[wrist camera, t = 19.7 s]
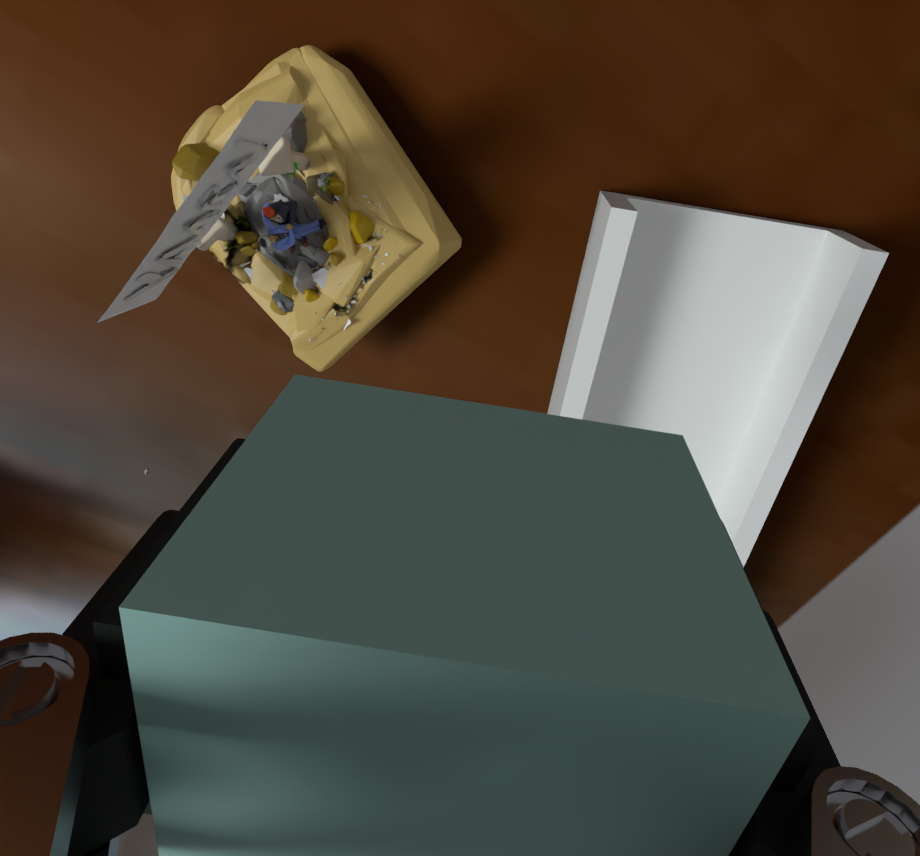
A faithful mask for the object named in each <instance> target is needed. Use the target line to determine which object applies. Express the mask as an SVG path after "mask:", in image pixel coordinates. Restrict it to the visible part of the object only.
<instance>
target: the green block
mask: <svg viewBox="0 0 920 856" xmlns="http://www.w3.org/2000/svg"><path fill="white" fill-rule="evenodd" d="M119 612H120V619H121V625H122V631H123V637H124V643H125V649H126V656H127V662H128V668H129V674H130V680H131V686H132V693H133V699H134V705H135V711H136V717H137V723H138V730H139V736H140V742H141V748H142V754H143V760H144V767H145V773H146V779H147V785H148V791H149V798H150V804H151V810H152V816H153V822H154V828H155V835H156V841H157V847H158V853H159V856H729V854H730V852H731V851H732V849H733V847H734V846H735V844H736V842H737V840H738V839H739V837H740V835H741V834H742V832H743V830H744V829H745V827H746V825H747V824H748V822H749V820H750V819H751V817H752V815H753V814H754V812H755V810H756V809H757V807H758V805H759V804H760V802H761V800H762V799H763V797H764V795H765V794H766V792H767V790H768V789H769V787H770V785H771V784H772V782H773V780H774V778H775V777H776V775H777V773H778V772H779V770H780V768H781V767H782V765H783V763H784V762H785V760H786V758H787V757H788V755H789V753H790V752H791V750H792V748H793V747H794V745H795V743H796V742H797V740H798V738H799V737H800V735H801V733H802V732H803V730H804V728H805V727H806V725H807V723H808V722H809V720H810V716H809V714H808V711H807V709H806V707H805V705H804V703H803V700H802V698H801V696H800V694H799V691H798V689H797V687H796V685H795V683H794V680H793V678H792V676H791V674H790V672H789V669H788V667H787V665H786V663H785V661H784V658H783V656H782V654H781V652H780V649H779V647H778V645H777V643H776V641H775V638H774V636H773V634H772V632H771V630H770V627H769V625H768V623H767V621H766V618H765V616H764V614H763V612H762V610H761V607H760V605H759V603H758V601H757V599H756V596H755V594H754V592H753V590H752V587H751V585H750V583H749V581H748V579H747V576H746V574H745V572H744V570H743V568H742V565H741V563H740V561H739V559H738V556H737V554H736V552H735V550H734V548H733V545H732V543H731V541H730V539H729V537H728V534H727V532H726V530H725V528H724V526H723V523H722V521H721V519H720V517H719V514H718V512H717V510H716V508H715V506H714V503H713V501H712V499H711V497H710V495H709V492H708V490H707V488H706V486H705V483H704V481H703V479H702V477H701V475H700V472H699V470H698V468H697V466H696V464H695V461H694V459H693V457H692V455H691V452H690V450H689V448H688V446H687V444H686V441H685V439H684V437H683V435H678V434H672V433H665V432H659V431H653V430H646V429H640V428H633V427H627V426H621V425H614V424H608V423H601V422H595V421H589V420H582V419H576V418H570V417H563V416H557V415H550V414H544V413H538V412H531V411H525V410H519V409H512V408H506V407H499V406H493V405H487V404H480V403H474V402H468V401H461V400H455V399H448V398H442V397H436V396H429V395H423V394H416V393H410V392H404V391H397V390H391V389H385V388H378V387H372V386H365V385H359V384H353V383H346V382H340V381H334V380H327V379H321V378H314V377H308V376H302V375H294V377H293V378H292V379H291V381H290V382H289V383H288V385H287V386H286V387H285V389H284V390H283V391H282V393H281V394H280V395H279V396H278V398H277V399H276V400H275V402H274V403H273V404H272V406H271V407H270V408H269V410H268V411H267V412H266V414H265V415H264V416H263V418H262V419H261V420H260V422H259V423H258V424H257V425H256V427H255V428H254V429H253V431H252V432H251V433H250V435H249V436H248V437H247V439H246V440H245V441H244V443H243V444H242V445H241V447H240V448H239V449H238V451H237V452H236V453H235V455H234V456H233V457H232V458H231V460H230V461H229V462H228V464H227V465H226V466H225V468H224V469H223V470H222V472H221V473H220V474H219V476H218V477H217V478H216V480H215V481H214V482H213V484H212V485H211V486H210V487H209V489H208V490H207V491H206V493H205V494H204V495H203V497H202V498H201V499H200V501H199V502H198V503H197V505H196V506H195V507H194V509H193V510H192V511H191V513H190V514H189V515H188V516H187V518H186V519H185V520H184V522H183V523H182V524H181V526H180V527H179V528H178V530H177V531H176V532H175V534H174V535H173V536H172V538H171V539H170V540H169V542H168V543H167V544H166V546H165V547H164V548H163V549H162V551H161V552H160V553H159V555H158V556H157V557H156V559H155V560H154V561H153V563H152V564H151V565H150V567H149V568H148V569H147V571H146V572H145V573H144V575H143V576H142V577H141V578H140V580H139V581H138V582H137V584H136V585H135V586H134V588H133V589H132V590H131V592H130V593H129V594H128V596H127V597H126V598H125V600H124V601H123V602H122V604H121V605H120V606H119Z"/></svg>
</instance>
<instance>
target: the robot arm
mask: <svg viewBox="0 0 920 856" xmlns="http://www.w3.org/2000/svg"><path fill="white" fill-rule="evenodd" d="M245 440H246V439H241V438H239V439H236V440H235V441H234V442H233V443H232V444H231V446H230V447H229V448H228V449H227V451H226V452H225V453H224V455H223V456H222V457H221V458H220V460H219V461H218V462H217V464H216V465H215V466H214V467H213V469H212V470H211V471H210V472H209V474H208V475H207V476H206V478H205V479H204V480H203V481H202V483H201V484H200V485H199V486H198V488H197V489H196V490H195V492H194V493H193V494H192V495H191V497H190V498H189V499H188V500H187V502H186V503H185V504H184V506H183V507H182V508H181V509H180V511H175V510H168V511H165V512H164V513H162V514H161V515H160V516H159V517H158V518H157V519H156V521H155V522H154V523H153V524H152V526H151V527H150V528H149V529H148V530H147V532H146V533H145V534H144V535H143V537H142V538H141V539H140V540H139V541H138V543H137V544H136V545H135V546H134V548H133V549H132V550H131V551H130V552H129V554H128V555H127V556H126V557H125V558H124V560H123V561H122V562H121V563H120V565H119V566H118V567H117V568H116V569H115V571H114V572H113V573H112V574H111V576H110V577H109V578H108V579H107V580H106V582H105V583H104V584H103V585H102V587H101V588H100V589H99V590H98V591H97V593H96V594H95V595H94V596H93V597H92V599H91V600H90V601H89V602H88V604H87V605H86V606H85V607H84V608H83V610H82V611H81V612H80V613H79V615H78V616H77V617H76V618H75V619H74V621H73V622H72V623H71V624H70V626H69V627H68V628H67V629H66V630H65V632H64V633H63V634H62V635H60V634H56V633H28V634H23V635H18V636H13V637H9V638H6V639H4V640H1V641H0V856H159V853H158V847H157V841H156V835H155V828H154V822H153V816H152V810H151V804H150V798H149V791H148V785H147V779H146V773H145V767H144V760H143V754H142V748H141V742H140V736H139V730H138V723H137V717H136V711H135V705H134V699H133V693H132V686H131V680H130V674H129V668H128V662H127V656H126V649H125V643H124V637H123V631H122V625H121V619H120V612H119V606H120V605H121V604H122V602H123V601H124V600H125V598H126V597H127V596H128V594H129V593H130V592H131V590H132V589H133V588H134V586H135V585H136V584H137V582H138V581H139V580H140V578H141V577H142V576H143V575H144V573H145V572H146V571H147V569H148V568H149V567H150V565H151V564H152V563H153V561H154V560H155V559H156V557H157V556H158V555H159V553H160V552H161V551H162V549H163V548H164V547H165V546H166V544H167V543H168V542H169V540H170V539H171V538H172V536H173V535H174V534H175V532H176V531H177V530H178V528H179V527H180V526H181V524H182V523H183V522H184V520H185V519H186V518H187V516H188V515H189V514H190V513H191V511H192V510H193V509H194V507H195V506H196V505H197V503H198V502H199V501H200V499H201V498H202V497H203V495H204V494H205V493H206V491H207V490H208V489H209V487H210V486H211V485H212V484H213V482H214V481H215V480H216V478H217V477H218V476H219V474H220V473H221V472H222V470H223V469H224V468H225V466H226V465H227V464H228V462H229V461H230V460H231V458H232V457H233V456H234V455H235V453H236V452H237V451H238V449H239V448H240V447H241V445H242V444H243V443H244V441H245ZM721 521H722V520H721ZM722 523H723V522H722ZM723 526H724V528H725V525H724V523H723ZM725 530H726V528H725ZM726 532H727V530H726ZM727 534H728V532H727ZM728 537H729V534H728ZM729 539H730V537H729ZM730 541H731V539H730ZM731 543H732V541H731ZM732 545H733V543H732ZM733 548H734V545H733ZM734 550H735V548H734ZM735 552H736V550H735ZM736 554H737V552H736ZM737 556H738V554H737ZM738 559H739V556H738ZM739 561H740V559H739ZM740 563H741V561H740ZM741 565H742V563H741ZM742 568H743V565H742ZM743 570H744V568H743ZM744 572H745V570H744ZM745 574H746V572H745ZM746 576H747V574H746ZM747 579H748V576H747ZM748 581H749V579H748ZM749 583H750V581H749ZM750 585H751V583H750ZM751 587H752V585H751ZM752 590H753V588H752ZM753 592H754V590H753ZM754 594H755V592H754ZM755 596H756V594H755ZM756 599H757V596H756ZM757 601H758V599H757ZM758 603H759V601H758ZM759 605H760V603H759ZM760 607H761V605H760ZM761 610H762V612H763V614H764V616H765V618H766V621H767V623H768V625H769V627H770V630H771V632H772V634H773V636H774V638H775V641H776V643H777V645H778V647H779V649H780V652H781V654H782V656H783V658H784V661H785V663H786V665H787V667H788V669H789V672H790V674H791V676H792V678H793V680H794V683H795V685H796V687H797V689H798V691H799V694H800V696H801V698H802V700H803V703H804V705H805V707H806V709H807V711H808V714H809V716H810V720H809V722H808V723H807V725H806V727H805V728H804V730H803V732H802V733H801V735H800V737H799V738H798V740H797V742H796V743H795V745H794V747H793V748H792V750H791V752H790V753H789V755H788V757H787V758H786V760H785V762H784V763H783V765H782V767H781V768H780V770H779V772H778V773H777V775H776V777H775V778H774V780H773V782H772V784H771V785H770V787H769V789H768V790H767V792H766V794H765V795H764V797H763V799H762V800H761V802H760V804H759V805H758V807H757V809H756V810H755V812H754V814H753V815H752V817H751V819H750V820H749V822H748V824H747V825H746V827H745V829H744V830H743V832H742V834H741V835H740V837H739V839H738V840H737V842H736V844H735V846H734V847H733V849H732V851H731V852H730V854H729V856H920V805H919V804H918V803H917V802H916V801H914V800H913V799H912V798H911V797H909V796H908V795H907V794H906V793H905V792H903V791H902V790H901V789H899V788H898V787H897V786H895V785H893V784H892V783H890V782H888V781H886V780H885V779H883V778H881V777H879V776H878V775H876V774H873V773H870V772H867V771H864V770H861V769H858V768H854V767H842V766H840V764H839V762H838V759H837V757H836V755H835V753H834V751H833V749H832V746H831V744H830V742H829V740H828V738H827V736H826V734H825V731H824V729H823V727H822V725H821V723H820V720H819V718H818V716H817V714H816V712H815V710H814V708H813V705H812V703H811V701H810V699H809V697H808V695H807V692H806V690H805V688H804V686H803V684H802V681H801V679H800V677H799V675H798V673H797V671H796V669H795V666H794V664H793V662H792V660H791V658H790V656H789V653H788V651H787V649H786V647H785V645H784V643H783V640H782V638H781V636H780V634H779V632H778V630H777V627H776V625H775V623H774V621H773V619H772V618H771V616H770V615H769V613H768V612H766V611H765V610H763V609H762V608H761Z"/></svg>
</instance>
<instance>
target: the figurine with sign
mask: <svg viewBox="0 0 920 856" xmlns="http://www.w3.org/2000/svg"><path fill="white" fill-rule="evenodd" d="M172 164H173V170H172V174H171V184H172V191H173V199H174V204H175V207H176V213H175V214H174V215H173V216H172V218H171V220H170V221H169V223H168V224H167V226H166V228H165V229H164V231H163V233H162V234H161V236H160V237H159V239H158V240H157V242H156V243H155V245H154V246H153V247H152V248H151V250H150V251H149V253H148V254H147V256H146V257H145V258H144V260H143V261H142V263H141V264H140V266H139V267H138V268H137V270H136V271H135V272H134V274H133V275H132V277H131V278H130V280H129V281H128V282H127V283H126V285H125V286H124V288H123V289H122V291H121V292H120V293H119V295H118V296H117V298H116V299H115V300H114V301H113V303H112V304H111V306H110V307H109V308H108V310H107V311H106V312H105V313H104V315H103V316H102V317H101V318H100V320H99V321H98V322H101V321H103V320H106V319H108V318H111V317H113V316H116V315H118V314H121V313H123V312H126V311H129V310H131V309H134V308H136V307H139V306H141V305H144V304H146V303H149V302H151V301H154V300H156V299H157V297H158V296H159V295H160V294H161V292H162V291H163V290H164V288H165V287H166V285H167V284H168V283H169V281H170V280H171V279H172V277H173V276H174V275H175V274H176V273H177V271H178V270H179V269H180V267H181V266H182V264H183V262H184V261H185V260H186V258H187V257H188V256H189V254H190V253H191V252H192V251H193V250H194V249H195V248H196V247H198V248H199V249H200V250H202V251H206V250H207V249H209V250H210V251H211V259H212V261H213V263H215V262H216V259H217V260H218V261H219V263H221V264H222V265H223V266H225V267H226V269H227V272H228V273H229V274H232V275H233V276H234V277H235V279H236V280H237V281H238V282H239V283H240V284H241V285H242V286H243V287H244V288H245V290H246V291H247V292H248V293H249V294H250V295H251V296H252V297H253V298H254V300H255V301H256V302H257V303H258V304H259V305H260V306H261V307H262V308H263V309H264V311H265V312H266V313H267V314H268V315H269V316H270V317H271V318H272V319H273V320H274V321H275V322H276V323H277V324H278V326H279V327H280V328H281V329H282V330H283V331H284V332H285V333H286V334H287V335H288V336H289V337H290V339H291V342H292V346H293V352H294V354H295V355H296V356H297V357H299V358H300V359H301V360H303V361H304V362H306V363H307V364H308V365H310V366H311V367H312V368H314V369H315V370H317V371H324V370H326V369H328V368H329V367H331V366H332V365H333V364H334V363H335V362H336V361H337V360H338V359H340V358H341V357H342V356H343V355H344V354H345V353H346V352H347V351H348V350H349V349H350V348H352V347H353V346H354V345H355V344H356V343H357V342H358V341H359V340H360V339H361V338H362V337H364V336H365V335H366V334H367V333H368V332H369V331H370V330H371V329H372V328H373V327H375V326H376V325H377V324H378V323H379V322H380V321H381V320H382V319H383V318H384V317H385V316H387V315H388V314H389V313H390V312H391V311H392V310H393V309H394V308H395V307H396V306H398V305H399V304H400V303H401V302H402V301H403V300H404V299H405V298H406V297H407V296H408V295H410V294H411V293H412V292H413V291H414V290H415V289H416V288H417V287H418V286H419V285H420V284H422V283H423V282H424V281H425V280H426V279H427V278H428V277H429V276H430V275H431V274H433V273H434V272H435V271H436V270H437V269H438V268H439V267H440V266H441V265H442V264H443V263H445V262H446V261H447V260H448V259H449V258H450V257H451V256H452V255H453V254H454V253H456V252H457V251H458V250H459V249H460V248H461V243H462V238H461V237H460V235H459V234H458V232H457V230H456V229H455V227H454V226H453V224H452V223H451V221H450V220H449V218H448V217H447V215H446V214H445V212H444V211H443V209H442V208H441V206H440V205H439V203H438V202H437V200H436V199H435V197H434V196H433V194H432V193H431V191H430V190H429V188H428V187H427V185H426V184H425V182H424V181H423V179H422V178H421V176H420V174H419V173H418V171H417V170H416V168H415V167H414V165H413V164H412V162H411V161H410V159H409V158H408V156H407V155H406V153H405V152H404V150H403V149H402V147H401V146H400V144H399V143H398V141H397V140H396V138H395V137H394V135H393V134H392V132H391V131H390V129H389V128H388V126H387V125H386V123H385V121H384V120H383V118H382V117H381V115H380V114H379V112H378V111H377V109H376V108H375V106H374V105H373V103H372V102H371V100H370V99H369V97H368V96H367V94H366V93H365V91H364V90H363V88H362V87H361V85H360V84H359V82H358V81H357V79H356V78H355V76H354V75H353V73H352V72H351V71H350V70H349V69H348V68H347V67H345V66H344V65H342V64H341V63H339V62H338V61H336V60H335V59H333V58H332V57H330V56H329V55H327V54H326V53H324V52H323V51H321V50H320V49H318V48H316V47H315V46H312V45H306V46H303V47H301V48H293V49H291V50H289V51H288V52H286V53H284V54H283V55H281V56H279V57H278V58H276V59H274V60H273V61H271V62H270V63H269V64H268V65H267V66H266V67H265V68H264V69H263V70H262V71H261V72H260V73H259V74H258V75H257V76H256V77H255V78H254V79H253V80H252V81H251V82H250V83H249V84H248V85H247V86H246V87H245V88H244V89H243V90H241V91H240V92H239V93H237V94H236V95H235V96H234V97H232V98H231V99H230V100H228V101H227V102H226V103H224V104H223V105H222V106H213V107H211V108H209V109H207V110H206V111H205V112H204V113H203V114H202V115H201V116H200V117H199V118H198V119H197V120H196V122H195V123H194V124H193V125H192V127H191V128H190V129H189V131H188V132H187V133H186V135H185V136H184V138H183V140H182V142H181V144H180V146H179V149H178V152H177V154H176V156H175V157H174V159H173V160H172ZM98 322H97V323H98ZM148 472H149V468H148V469H146V470H145V473H144V474H145V475H147V474H148Z"/></svg>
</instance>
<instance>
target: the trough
mask: <svg viewBox="0 0 920 856" xmlns="http://www.w3.org/2000/svg"><path fill="white" fill-rule="evenodd" d="M888 255H889V253H888V252H886V251H884V250H882V249H880V248H878V247H876V246H874V245H872V244H869V243H867V242H865V241H863V240H861V239H859V238H857V237H855V236H853V235H851V234H849V233H847V232H845V231H842V230H836V229H830V228H824V227H818V226H812V225H806V224H800V223H794V222H788V221H782V220H776V219H770V218H764V217H758V216H752V215H746V214H740V213H734V212H728V211H721V210H715V209H709V208H703V207H697V206H691V205H685V204H679V203H673V202H667V201H661V200H655V199H649V198H643V197H637V196H631V195H625V194H619V193H613V192H607V191H601V190H600V193H599V197H598V202H597V206H596V210H595V214H594V219H593V223H592V227H591V231H590V235H589V240H588V244H587V248H586V252H585V257H584V261H583V265H582V269H581V274H580V278H579V282H578V286H577V290H576V295H575V299H574V303H573V307H572V312H571V316H570V320H569V324H568V328H567V333H566V337H565V341H564V345H563V350H562V354H561V358H560V362H559V366H558V371H557V375H556V379H555V383H554V388H553V392H552V396H551V400H550V405H549V409H548V413H547V414H550V415H557V416H563V417H570V418H576V419H582V420H589V421H595V422H601V423H608V424H614V425H621V426H627V427H633V428H640V429H646V430H653V431H659V432H665V433H672V434H678V435H683V437H684V439H685V441H686V444H687V446H688V448H689V450H690V452H691V455H692V457H693V459H694V461H695V464H696V466H697V468H698V470H699V472H700V475H701V477H702V479H703V481H704V483H705V486H706V488H707V490H708V492H709V495H710V497H711V499H712V501H713V503H714V506H715V508H716V510H717V512H718V514H719V517H720V519H721V520H722V522H723V523H724V525H725V528H726V530H727V532H728V534H729V537H730V539H731V541H732V543H733V545H734V548H735V550H736V552H737V554H738V556H739V559H740V561H741V563H742V565H743V568H744V565H745V563H746V561H747V559H748V557H749V555H750V553H751V550H752V548H753V546H754V544H755V542H756V540H757V537H758V535H759V533H760V531H761V529H762V527H763V525H764V522H765V520H766V518H767V516H768V514H769V512H770V509H771V507H772V505H773V503H774V501H775V499H776V496H777V494H778V492H779V490H780V488H781V486H782V484H783V481H784V479H785V477H786V475H787V473H788V471H789V468H790V466H791V464H792V462H793V460H794V458H795V455H796V453H797V451H798V449H799V447H800V445H801V443H802V440H803V438H804V436H805V434H806V432H807V430H808V427H809V425H810V423H811V421H812V419H813V417H814V414H815V412H816V410H817V408H818V406H819V404H820V402H821V399H822V397H823V395H824V393H825V391H826V389H827V386H828V384H829V382H830V380H831V378H832V376H833V373H834V371H835V369H836V367H837V365H838V363H839V361H840V358H841V356H842V354H843V352H844V350H845V348H846V345H847V343H848V341H849V339H850V337H851V335H852V332H853V330H854V328H855V326H856V324H857V322H858V320H859V317H860V315H861V313H862V311H863V309H864V307H865V304H866V302H867V300H868V298H869V296H870V294H871V291H872V289H873V287H874V285H875V283H876V281H877V279H878V276H879V274H880V272H881V270H882V268H883V266H884V263H885V261H886V259H887V257H888Z"/></svg>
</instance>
